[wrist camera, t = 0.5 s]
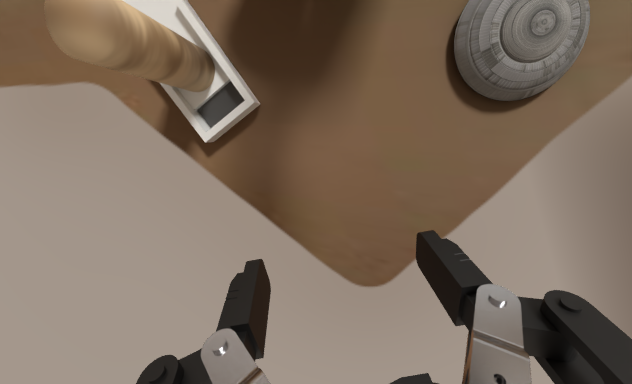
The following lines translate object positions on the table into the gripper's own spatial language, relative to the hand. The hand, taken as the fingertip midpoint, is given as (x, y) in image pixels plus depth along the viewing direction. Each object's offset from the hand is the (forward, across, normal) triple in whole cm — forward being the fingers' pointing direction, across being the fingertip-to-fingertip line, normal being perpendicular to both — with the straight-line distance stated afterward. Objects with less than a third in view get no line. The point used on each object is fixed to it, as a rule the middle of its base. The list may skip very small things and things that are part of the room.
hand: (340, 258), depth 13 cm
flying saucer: (+26, -27, -8) cm, 38 cm away
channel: (+33, +17, -15) cm, 40 cm away
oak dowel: (+31, +15, -11) cm, 36 cm away
